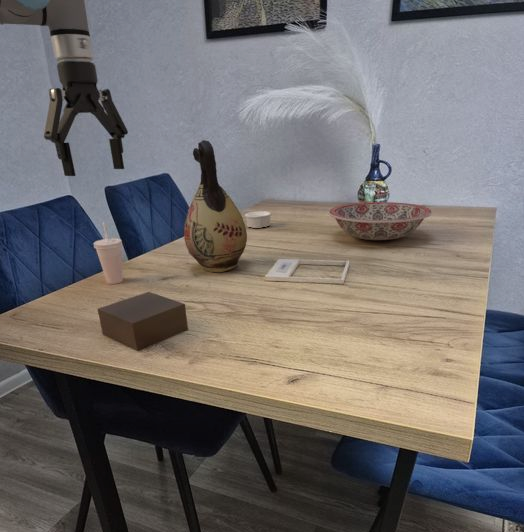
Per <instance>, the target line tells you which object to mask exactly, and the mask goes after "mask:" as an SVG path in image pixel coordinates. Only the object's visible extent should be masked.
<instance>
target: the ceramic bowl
mask: <svg viewBox="0 0 524 532" xmlns="http://www.w3.org/2000/svg"><path fill="white" fill-rule="evenodd" d="M432 213H433V212H432V209H430V208H429V207H426V206H423V205H420V204H415V203H414V204H412V203H406V202H405V203H404V202H395V201H394V202H393V201H392V202H391V201H372V202H371V201H370V202H369V201H368V202H357V203H348V204H343V205H338V206H335V207H332V208H331V209H329V211H328V215H329V216H330V217H332V218H334V219H335V221H336V223H337V225H338V226H339V228H341V230H342V231H344V232H345V233H346V234H348V235H349V236H352V237H355V238H357V239H361V240H367V241H387V240H388V241H389V240H396V239H400V238H404V237H406V236H408V235H410V234H411V233H412V232H414V231H416V229H418V227H420V225H421V224H422V223H423V221H424V220H425V219H428V218H429V217H430V216H431V215H432Z"/></svg>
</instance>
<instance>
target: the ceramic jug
mask: <svg viewBox="0 0 524 532" xmlns="http://www.w3.org/2000/svg"><path fill="white" fill-rule="evenodd" d="M197 144H198V145H197V147H194V148H193V151H192V155H193V158H194V159H193V160H194V161H195V162H197V163H198V164H199V167H200V183H199V184H198V188H197V190H196V192H195V194H194V196H193V198H192V201H191V203H190V206H189V208H188V210H187V213H186V216H185V221H184V228H183V229H184V230H183V234H184V235H183V236H184V237H183V239H184V243H185V247H186V248H187V250H188V251H187V252H188V254H189V255H190V256H191V257H192V258H193V259H194V260H195V261H196V262H197V263H198V264H199V265H200V267H201V268H202V270H203V271H205V272H209V273H210V272H211V273H223V272H226V271H229V270H233V269H235V268H237V267H238V266H239V260H240V259H241V256H242V255H243V254H244V253H245V252H244V251H245V249H246V245H247V243H248V233H247V232H248V231H247V227H246V224H245V221H244V219H243V216H242V214H241V211H240V210H239V208H238V207H237V206H236V204H235V202H234V201H233V199H232V198H231V197H230V195H228V193H227V191H226V190H225V189H224V188H223V187H222V186H221V185H220V184H219V180H218V174H217V171H218V170H217V161H216V156H215V151H214V146H213V144H212V143H211V142H210V141H209V140H205V139H203V140H201V141H200V142H197Z"/></svg>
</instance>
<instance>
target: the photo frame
mask: <svg viewBox="0 0 524 532" xmlns="http://www.w3.org/2000/svg"><path fill="white" fill-rule="evenodd" d="M350 262H351V261H349V260H328V259H327V260H321V259H294V258H293V259H291V258H290V259H289V258H288V259H287V258H278V260H276V262H275V263H274V265H273V266H272V267H271V268H270V270H268V272H267V273H266V274H265V275H264V281H267V282H268V281H269V282H270V281H271V282H291V283H293V282H294V283H318V284H338V285H339V284H341V285H343V284H345V280H346V277H347V274H348V271H349V268H350ZM299 265H317V266H319V265H320V266H321V265H323V266H344V268H343V271H342V274H341V277H340V278H335V277H334V278H332V277H310V276H309V277H308V276H293V274H294V273H295V271H296V269H297V267H298V266H299Z"/></svg>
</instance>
